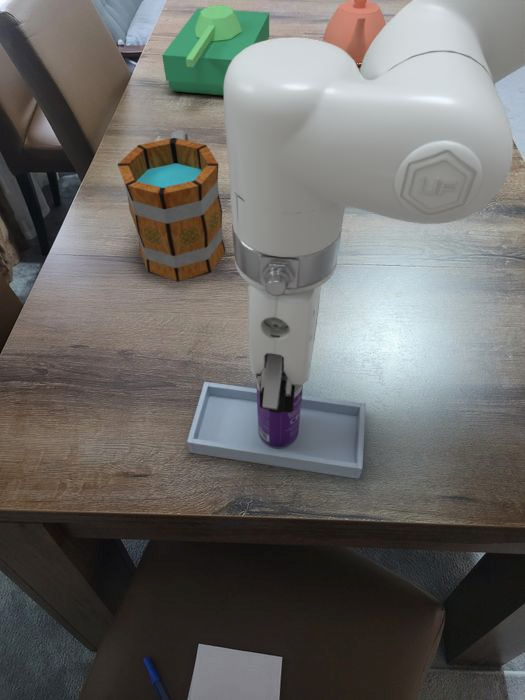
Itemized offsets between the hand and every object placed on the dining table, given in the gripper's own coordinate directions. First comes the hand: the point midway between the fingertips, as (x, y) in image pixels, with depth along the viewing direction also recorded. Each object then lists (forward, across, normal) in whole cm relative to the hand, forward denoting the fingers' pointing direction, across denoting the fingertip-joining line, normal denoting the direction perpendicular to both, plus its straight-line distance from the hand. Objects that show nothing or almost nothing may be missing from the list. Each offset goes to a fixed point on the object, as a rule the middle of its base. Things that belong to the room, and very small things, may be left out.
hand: (280, 383), depth 49 cm
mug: (+11, +32, +20) cm, 39 cm away
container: (+10, 0, 0) cm, 10 cm away
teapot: (+11, +105, -3) cm, 106 cm away
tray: (+10, 0, 0) cm, 10 cm away
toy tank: (+11, +88, +27) cm, 93 cm away
